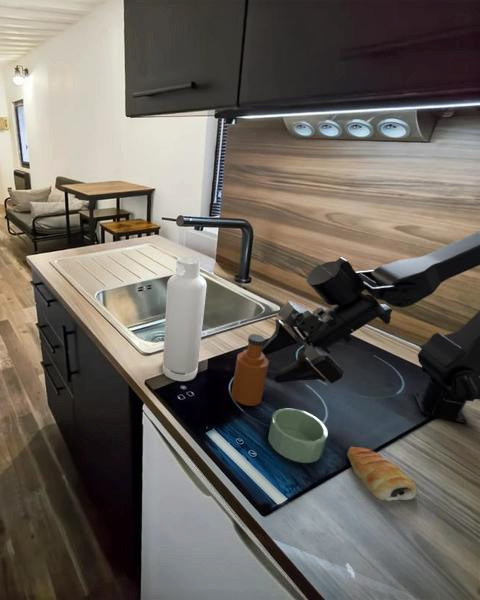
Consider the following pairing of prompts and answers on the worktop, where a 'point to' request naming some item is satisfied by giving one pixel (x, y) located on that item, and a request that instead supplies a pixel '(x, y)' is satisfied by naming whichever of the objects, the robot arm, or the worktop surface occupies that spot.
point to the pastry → (381, 475)
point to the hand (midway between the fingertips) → (267, 366)
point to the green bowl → (297, 435)
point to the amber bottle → (250, 372)
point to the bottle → (184, 320)
